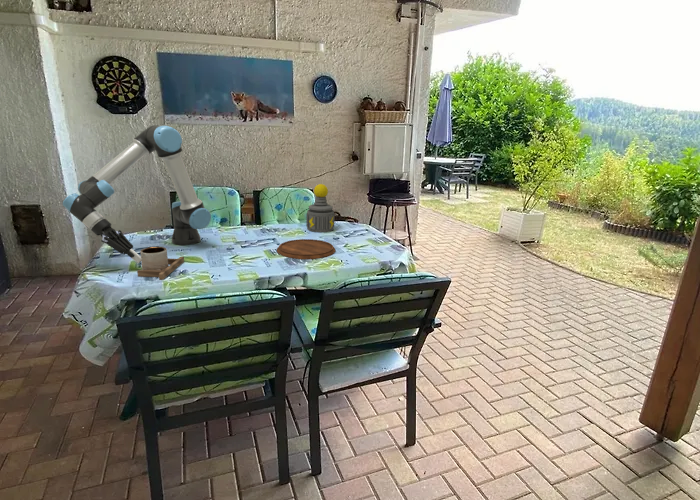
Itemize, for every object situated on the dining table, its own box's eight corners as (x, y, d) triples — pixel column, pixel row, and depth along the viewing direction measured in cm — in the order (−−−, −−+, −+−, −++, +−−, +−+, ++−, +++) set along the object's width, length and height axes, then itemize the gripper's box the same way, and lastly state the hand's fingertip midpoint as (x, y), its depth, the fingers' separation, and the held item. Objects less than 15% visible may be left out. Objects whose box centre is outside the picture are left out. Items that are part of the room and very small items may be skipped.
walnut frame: (159, 261, 193) (158, 256, 192) (184, 261, 193) (183, 256, 193) (134, 278, 170) (133, 273, 169) (162, 279, 170) (162, 274, 170)
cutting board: (303, 239, 240) (303, 235, 239) (346, 250, 223) (347, 245, 222) (264, 251, 215) (264, 247, 214) (309, 264, 198) (309, 259, 197)
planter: (150, 275, 174) (148, 255, 171) (137, 270, 180) (135, 250, 177) (173, 269, 183) (171, 249, 180) (160, 264, 189) (158, 245, 186)
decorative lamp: (323, 234, 252) (324, 187, 244) (300, 229, 262) (300, 183, 253) (340, 229, 268) (341, 184, 259) (317, 224, 277) (318, 181, 268)
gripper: (101, 226, 182) (142, 261, 187) (83, 233, 170) (127, 271, 175) (111, 215, 181) (152, 251, 186) (93, 221, 168) (138, 260, 173)
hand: (140, 261), depth 180 cm, fingers closed
